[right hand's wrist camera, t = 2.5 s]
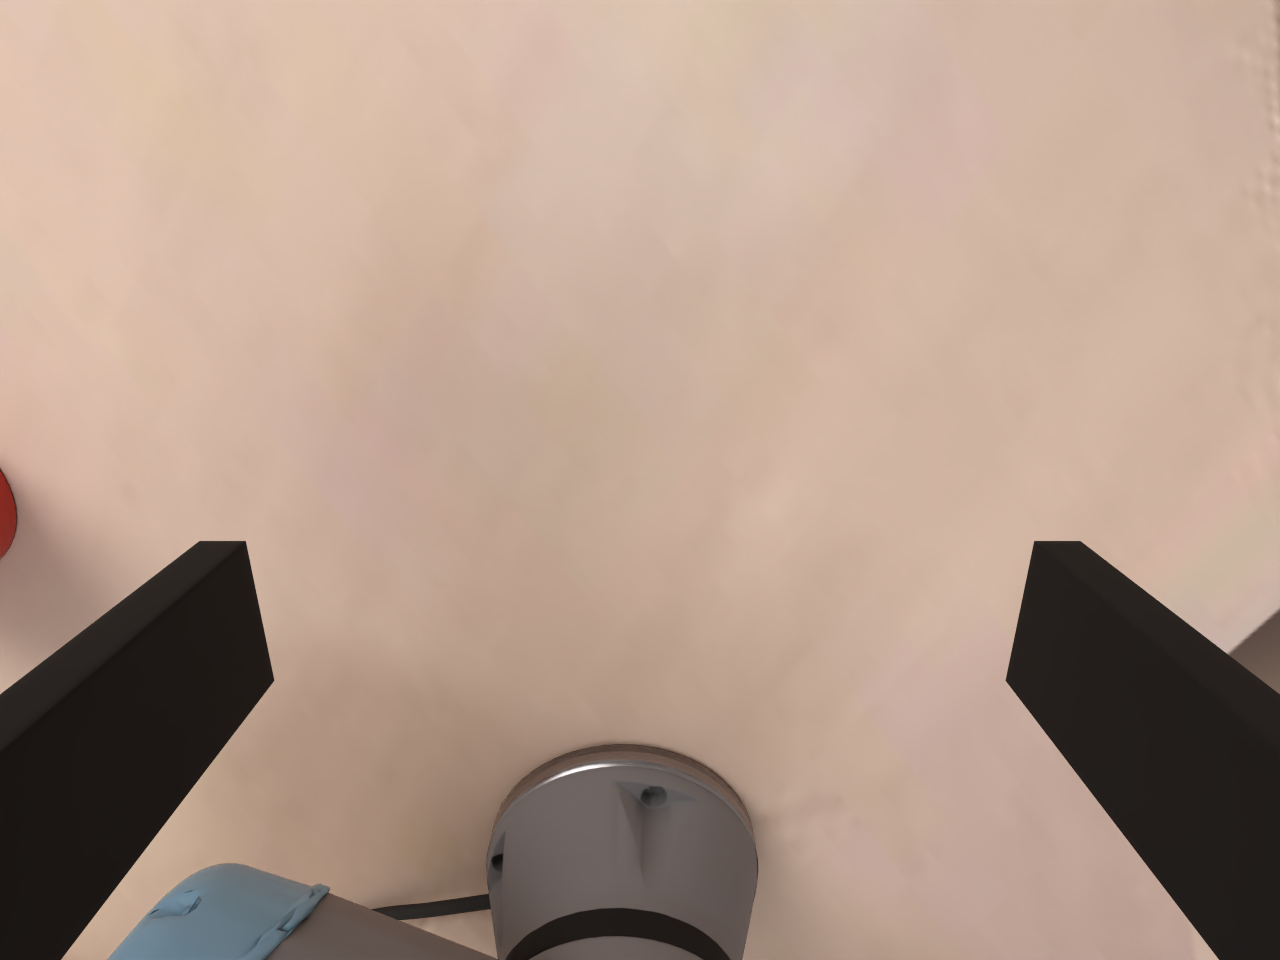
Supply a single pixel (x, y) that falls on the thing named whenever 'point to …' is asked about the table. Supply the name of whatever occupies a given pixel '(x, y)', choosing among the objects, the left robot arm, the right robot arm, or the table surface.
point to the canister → (6, 516)
